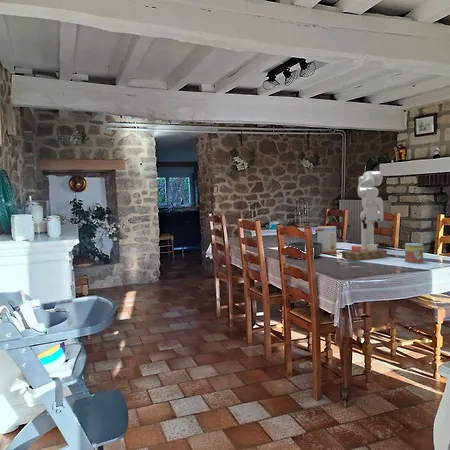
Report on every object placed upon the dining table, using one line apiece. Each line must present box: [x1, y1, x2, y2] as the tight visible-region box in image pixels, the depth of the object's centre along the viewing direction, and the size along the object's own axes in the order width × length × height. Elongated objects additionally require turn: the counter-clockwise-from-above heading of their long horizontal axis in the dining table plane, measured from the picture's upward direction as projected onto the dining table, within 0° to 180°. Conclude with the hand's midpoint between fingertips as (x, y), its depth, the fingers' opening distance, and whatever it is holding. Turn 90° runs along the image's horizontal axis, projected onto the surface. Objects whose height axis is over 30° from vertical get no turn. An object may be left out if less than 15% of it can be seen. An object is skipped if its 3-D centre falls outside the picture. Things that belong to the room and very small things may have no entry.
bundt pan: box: [286, 241, 323, 258], centre depth 310 cm, size 26×26×10 cm
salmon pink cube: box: [351, 244, 361, 252], centre depth 296 cm, size 4×4×4 cm
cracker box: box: [316, 225, 338, 255], centre depth 322 cm, size 14×6×21 cm, turn 84°
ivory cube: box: [368, 243, 378, 251], centre depth 301 cm, size 4×4×4 cm
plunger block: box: [341, 248, 388, 262], centre depth 299 cm, size 28×14×5 cm, turn 111°
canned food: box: [404, 242, 424, 264], centre depth 279 cm, size 11×11×12 cm
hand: (370, 228), depth 300 cm, fingers open, 9 cm apart
